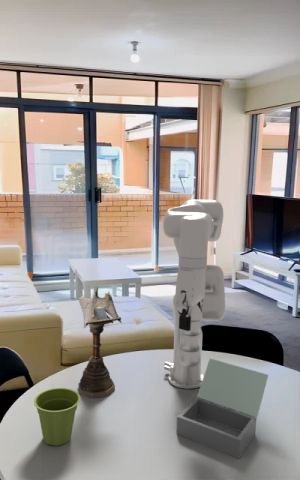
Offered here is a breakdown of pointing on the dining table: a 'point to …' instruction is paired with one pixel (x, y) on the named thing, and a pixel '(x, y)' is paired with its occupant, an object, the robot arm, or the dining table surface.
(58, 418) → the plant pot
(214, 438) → the grey open box
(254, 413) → the cover
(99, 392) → the ornate pedestal stand
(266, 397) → the dining table surface
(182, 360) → the plastic bottle
